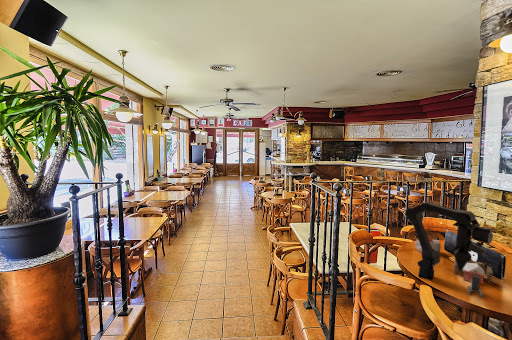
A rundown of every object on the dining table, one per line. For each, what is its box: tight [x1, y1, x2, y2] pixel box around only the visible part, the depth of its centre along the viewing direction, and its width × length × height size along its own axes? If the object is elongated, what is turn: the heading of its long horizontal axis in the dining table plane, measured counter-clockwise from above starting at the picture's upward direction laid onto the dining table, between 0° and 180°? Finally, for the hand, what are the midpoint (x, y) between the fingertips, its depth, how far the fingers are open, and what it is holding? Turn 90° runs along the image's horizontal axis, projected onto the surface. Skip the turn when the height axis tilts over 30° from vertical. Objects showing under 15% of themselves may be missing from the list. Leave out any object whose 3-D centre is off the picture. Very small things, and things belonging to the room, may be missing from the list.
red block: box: [462, 270, 484, 293], centre depth 136 cm, size 8×14×8 cm, turn 144°
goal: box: [453, 258, 494, 284], centre depth 149 cm, size 16×12×6 cm
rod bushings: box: [467, 285, 483, 299], centre depth 131 cm, size 5×6×2 cm
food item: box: [414, 237, 441, 255], centre depth 178 cm, size 14×8×10 cm, turn 85°
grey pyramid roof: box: [461, 263, 485, 275], centre depth 145 cm, size 8×9×10 cm
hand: (460, 266), depth 132 cm, fingers open, 9 cm apart
